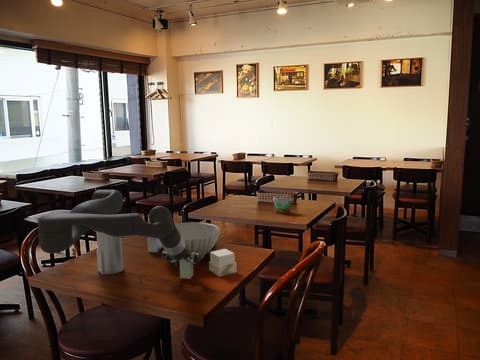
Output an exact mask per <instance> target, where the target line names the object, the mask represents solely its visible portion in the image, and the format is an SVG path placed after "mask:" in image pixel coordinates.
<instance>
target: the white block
mask: <svg viewBox="0 0 480 360" xmlns="http://www.w3.org/2000/svg"><path fill="white" fill-rule="evenodd" d="M209 257H210V261H211V262H212V263H214V264H215V265H217V266H219V267H221V266H224V265H228V264H232V263H235V261H236V260H235V258H236V257H235V252H233V251H231V250H228V249H227V248H221V249H218V250H213V251H209ZM210 261H209V262H210Z"/></svg>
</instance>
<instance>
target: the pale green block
mask: <svg viewBox="0 0 480 360" xmlns="http://www.w3.org/2000/svg"><path fill="white" fill-rule="evenodd" d="M188 259H189V258H188ZM192 260H193V258H192ZM178 263H179V278H180V279H188V280H189V279H191V278H192V277H193V276H194V265H193V263H191V262H190V263H189V262H187V261H185V260H179V261H178Z"/></svg>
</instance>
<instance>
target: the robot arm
mask: <svg viewBox="0 0 480 360" xmlns="http://www.w3.org/2000/svg"><path fill="white" fill-rule="evenodd" d="M123 205H124V197H123V193H121V192H120V191H119V190H117V189H97V190H95V191H94V192H93V193H92V198H91V200H86V201H84V202H81V203H79V204H78V205H76V206H74V207H73V208H72V209H71V210H70V212H56V213H55V212H54V213H48V214H44V215H42V216H40V217H39V218H38V220H37V226H38V227H37V228H38V232H37V233H38V244H39V247H40V249H41V251H42V252H44V253H46V254H58V253H59V254H60V253H61V252H64V251H66V250H68V249H70V248H71V247H72V246H73V245H74V244H75V243H76V242H77V241H78V240H79V239H80V238H82V236H83V235H84V234H86V233H87V232H89V231H90V230H91V229H93V230H95V231H96V233H95V234H96V244H97V245H96V246H97V248H96V260H97V272H99V274H101V275H102V276H103V275H105V276H106V275H115V274H118V273H120V272H123V270H124V262H123V260H124V259H123V249H122V248H123V247H122V237H132V236H139V237H152V238H159V240H160V241H161V243H162V244H163V249H162V252H161V257H162V259H164V261H165V262H170V263H172V265H174V267H178V264H179V261H178V260H185V261H187V262H189V263H190V262H191V263H193V268H197V267H199V264H201V260H202V259H201V255H200V253H199V252H198V251H197V250H196V251H195V252H191V251H189V249H188V246H187V244H186V242H185V240H184V238H183V237H182V235H181V234H180V233H179V231H178V229H177V228H176V226H175V224H176V223H175V221H174V218H173V216H172V213H171V211H170V209H168V207H165V206H162V205H157V206H154V207H152V209H150V211H149V213H148V220H149V222H147V221H145V220H144V218H143V216H142V215H141V214H140V213H138V212H137V213H136V212H134V213H132V212H131V213H121V214H120V213H119V212H120V211H121V209H122V208H123ZM117 213H119V214H117ZM188 258H189V259H188ZM192 258H194V259H193V260H192Z"/></svg>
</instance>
